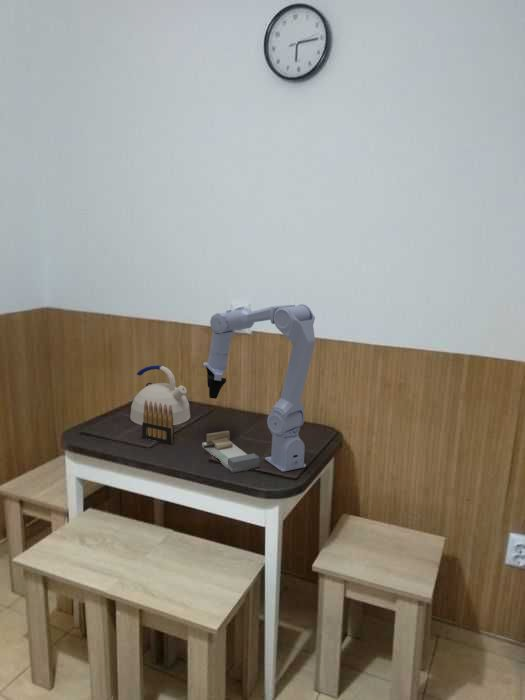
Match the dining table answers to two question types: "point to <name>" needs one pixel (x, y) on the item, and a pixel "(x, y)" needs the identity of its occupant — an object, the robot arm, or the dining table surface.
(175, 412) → the kettle
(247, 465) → the gauge base
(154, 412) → the ammunition clip
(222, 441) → the gauge carriage
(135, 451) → the dining table surface
